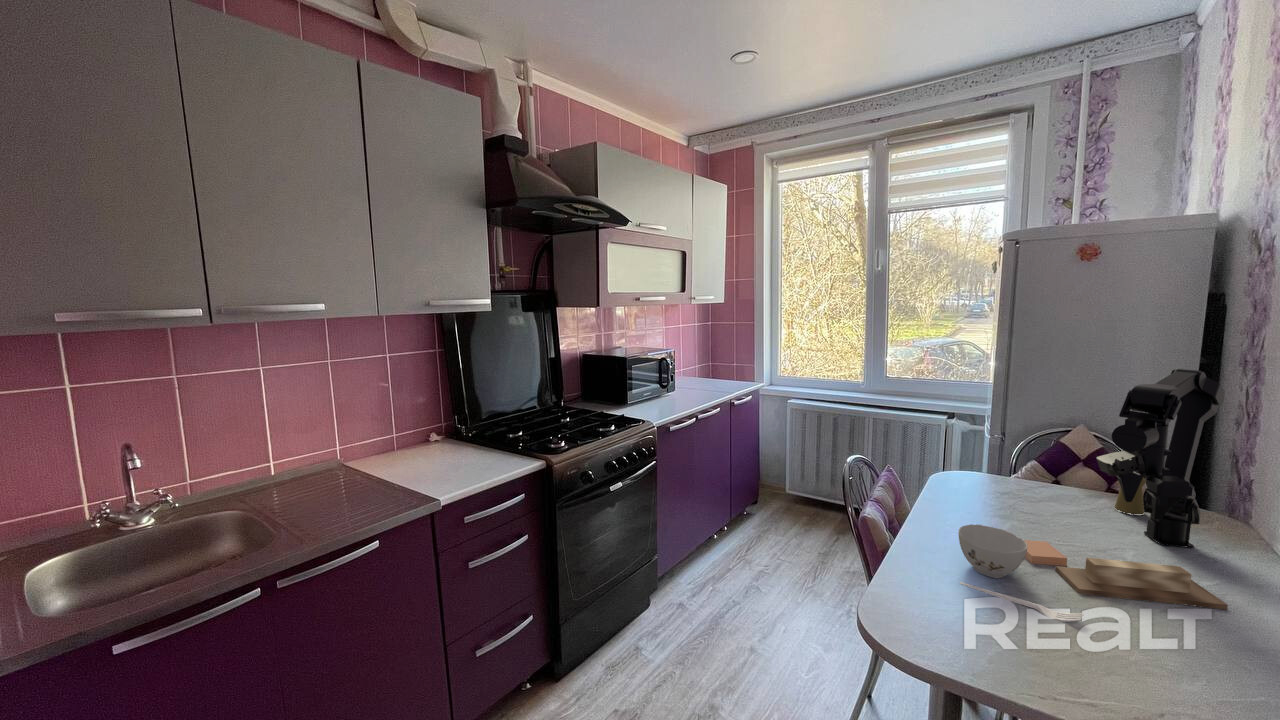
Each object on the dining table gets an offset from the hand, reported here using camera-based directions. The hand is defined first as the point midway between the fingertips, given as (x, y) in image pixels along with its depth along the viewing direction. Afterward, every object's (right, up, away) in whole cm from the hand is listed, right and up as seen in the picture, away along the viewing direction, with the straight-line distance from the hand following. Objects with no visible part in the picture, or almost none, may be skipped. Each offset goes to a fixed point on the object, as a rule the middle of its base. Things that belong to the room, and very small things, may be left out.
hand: (1141, 510), depth 116 cm
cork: (+22, -8, +26) cm, 35 cm away
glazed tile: (-17, -11, +3) cm, 21 cm away
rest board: (-11, -13, -10) cm, 20 cm away
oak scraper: (-12, -12, -10) cm, 20 cm away
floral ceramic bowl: (-35, -13, -2) cm, 37 cm away
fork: (-39, -15, -14) cm, 44 cm away
